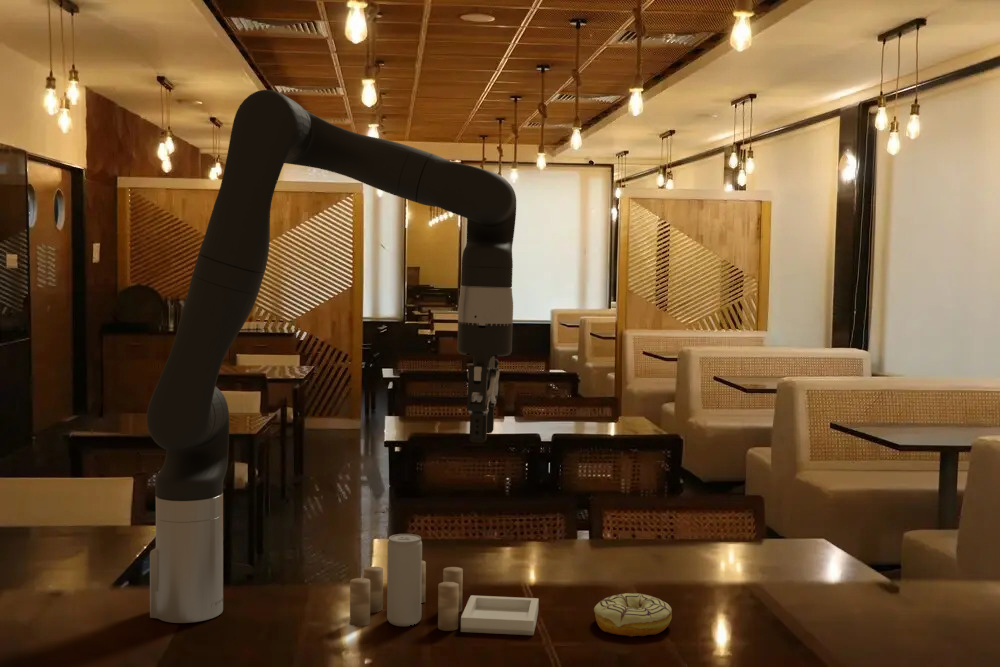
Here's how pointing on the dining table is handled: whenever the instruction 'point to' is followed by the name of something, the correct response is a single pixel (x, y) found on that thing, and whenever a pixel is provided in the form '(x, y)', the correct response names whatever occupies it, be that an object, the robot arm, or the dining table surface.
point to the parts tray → (500, 615)
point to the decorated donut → (632, 614)
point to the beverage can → (404, 579)
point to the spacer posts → (370, 600)
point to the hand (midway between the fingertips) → (481, 437)
